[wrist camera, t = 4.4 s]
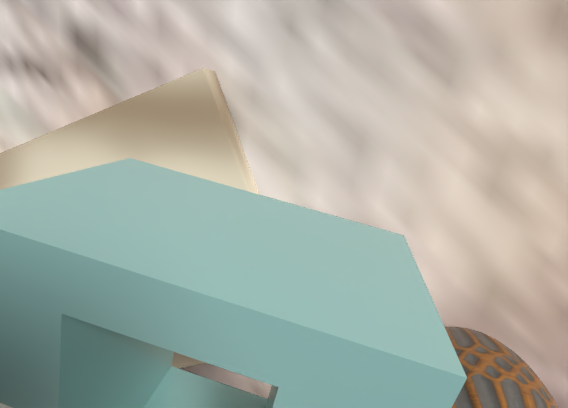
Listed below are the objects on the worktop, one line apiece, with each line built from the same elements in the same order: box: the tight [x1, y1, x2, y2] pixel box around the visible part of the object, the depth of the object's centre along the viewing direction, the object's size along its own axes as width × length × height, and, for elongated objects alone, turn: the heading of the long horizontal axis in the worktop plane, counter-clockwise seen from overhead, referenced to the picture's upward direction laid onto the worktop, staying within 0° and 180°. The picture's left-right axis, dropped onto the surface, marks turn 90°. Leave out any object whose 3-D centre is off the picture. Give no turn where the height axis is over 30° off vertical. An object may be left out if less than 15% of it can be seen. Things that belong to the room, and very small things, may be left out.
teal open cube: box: [0, 158, 467, 408], centre depth 7 cm, size 6×6×4 cm
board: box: [0, 68, 259, 368], centre depth 19 cm, size 15×14×2 cm
